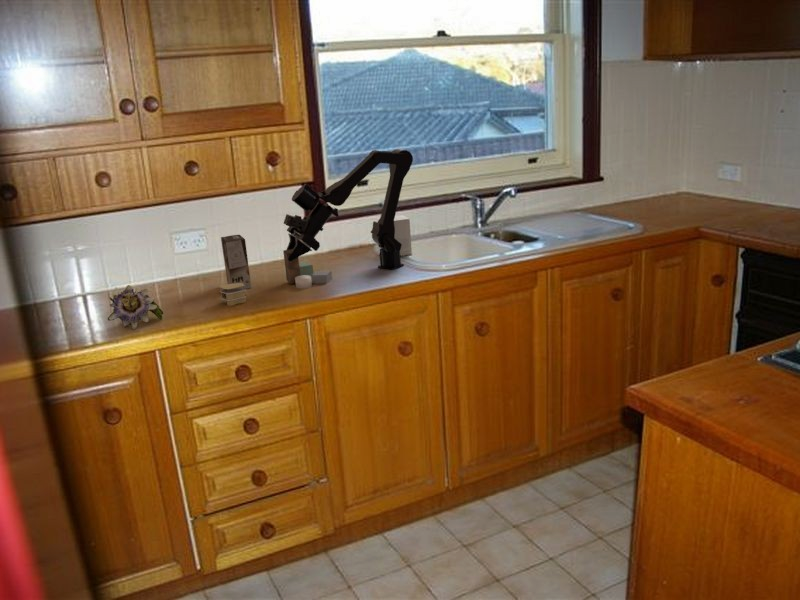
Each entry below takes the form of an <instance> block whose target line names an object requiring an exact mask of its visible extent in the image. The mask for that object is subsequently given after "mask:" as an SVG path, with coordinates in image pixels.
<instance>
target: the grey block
mask: <svg viewBox="0 0 800 600" xmlns="http://www.w3.org/2000/svg"><path fill="white" fill-rule="evenodd" d="M332 272H333V271H332V270H316V271H315V272H313V274H312V276H311V282H312V284H328V283H330V282H331V281H332V280H333V273H332Z"/></svg>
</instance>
